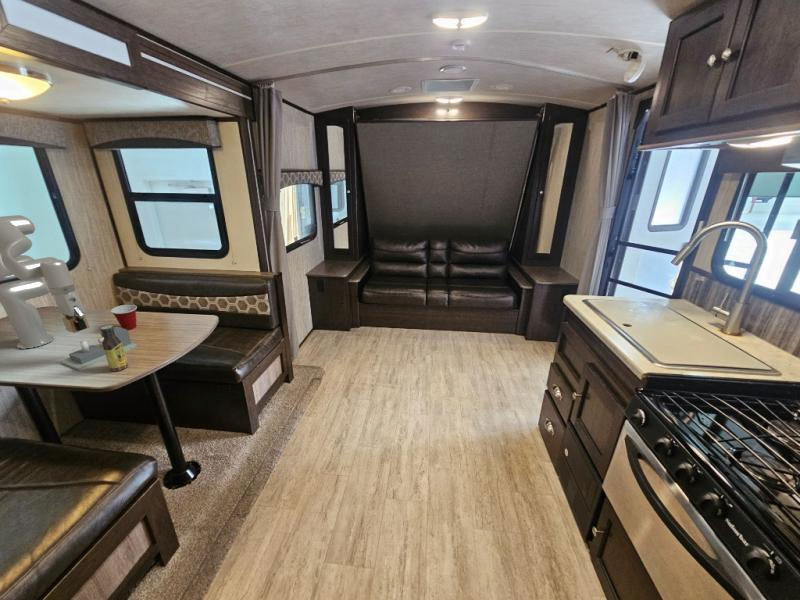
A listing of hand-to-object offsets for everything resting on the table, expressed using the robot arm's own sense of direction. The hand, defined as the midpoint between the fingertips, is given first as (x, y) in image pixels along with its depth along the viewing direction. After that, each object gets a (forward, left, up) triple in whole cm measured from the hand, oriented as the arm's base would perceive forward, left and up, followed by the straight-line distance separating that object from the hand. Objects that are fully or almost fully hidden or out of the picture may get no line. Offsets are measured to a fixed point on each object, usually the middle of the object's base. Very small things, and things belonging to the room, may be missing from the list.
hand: (78, 327), depth 142 cm
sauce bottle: (+20, +1, -16) cm, 26 cm away
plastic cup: (-17, +26, -16) cm, 36 cm away
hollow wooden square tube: (0, 0, 0) cm, 1 cm away
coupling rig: (0, +4, -16) cm, 17 cm away
